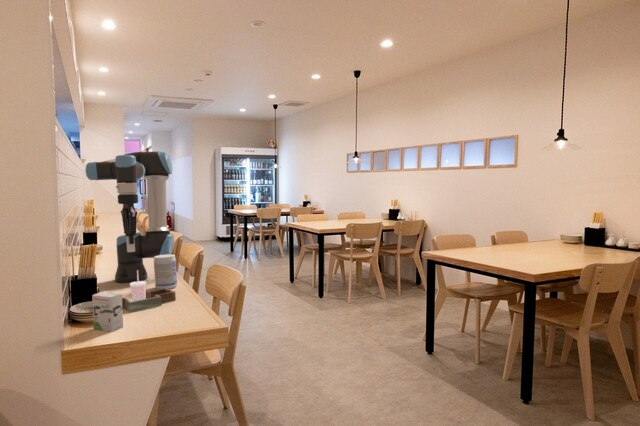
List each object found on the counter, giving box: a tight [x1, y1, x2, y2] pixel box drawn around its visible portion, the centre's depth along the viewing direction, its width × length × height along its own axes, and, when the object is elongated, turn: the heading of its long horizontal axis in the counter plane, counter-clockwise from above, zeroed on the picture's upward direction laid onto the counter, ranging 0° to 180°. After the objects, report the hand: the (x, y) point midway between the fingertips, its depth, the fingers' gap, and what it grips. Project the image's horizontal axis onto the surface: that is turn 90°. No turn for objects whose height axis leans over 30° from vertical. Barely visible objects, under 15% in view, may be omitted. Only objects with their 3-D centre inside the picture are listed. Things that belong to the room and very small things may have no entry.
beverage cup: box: [129, 270, 147, 302], centre depth 169 cm, size 6×6×14 cm
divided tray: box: [122, 288, 177, 313], centre depth 172 cm, size 19×26×4 cm
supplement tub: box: [153, 253, 178, 290], centre depth 198 cm, size 10×10×15 cm
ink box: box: [92, 290, 124, 333], centre depth 143 cm, size 9×5×12 cm, turn 69°
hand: (131, 251), depth 175 cm, fingers closed
